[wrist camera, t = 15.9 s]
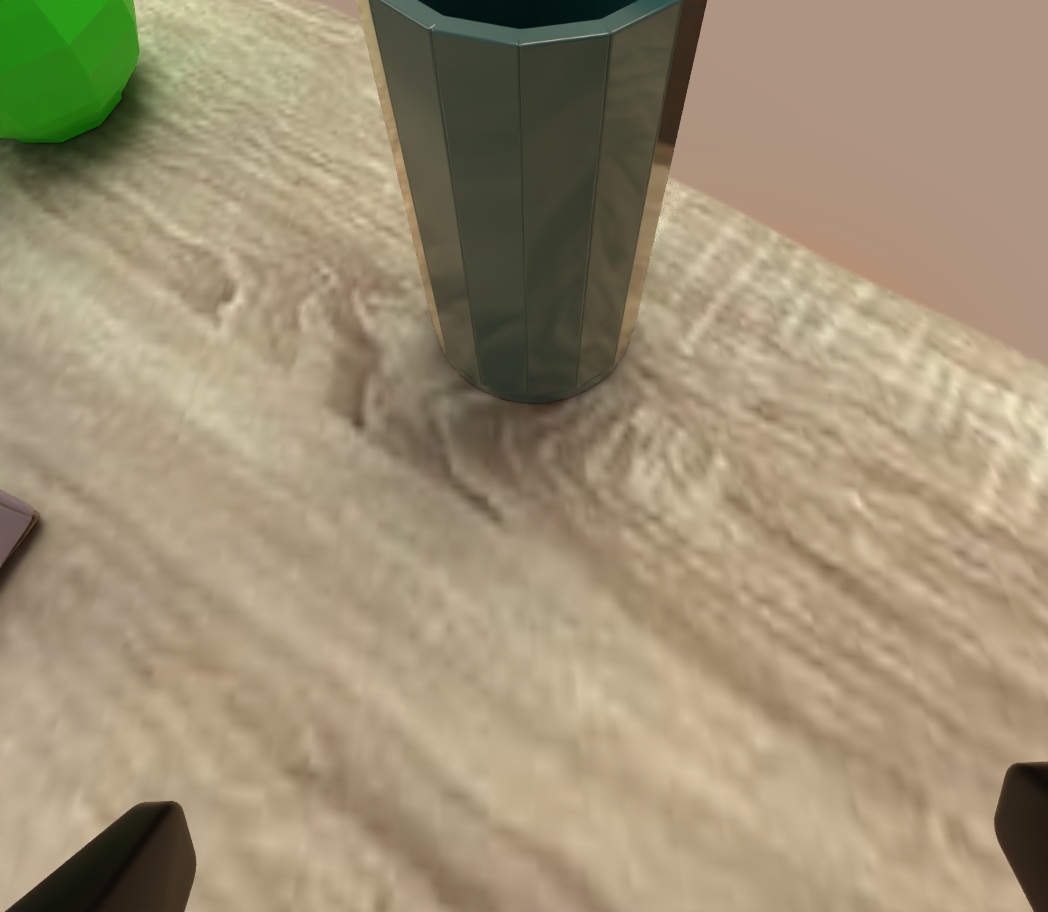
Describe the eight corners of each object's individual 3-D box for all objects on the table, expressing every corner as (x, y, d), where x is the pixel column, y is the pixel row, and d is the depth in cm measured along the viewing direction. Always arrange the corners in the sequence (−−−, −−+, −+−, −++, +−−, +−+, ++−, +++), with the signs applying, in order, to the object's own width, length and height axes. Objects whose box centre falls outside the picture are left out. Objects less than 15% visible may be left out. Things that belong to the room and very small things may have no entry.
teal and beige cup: (477, 434, 22) (416, 91, 11) (409, 274, 25) (303, -135, 14) (667, 364, 23) (790, -19, 12) (582, 217, 26) (617, -212, 15)
